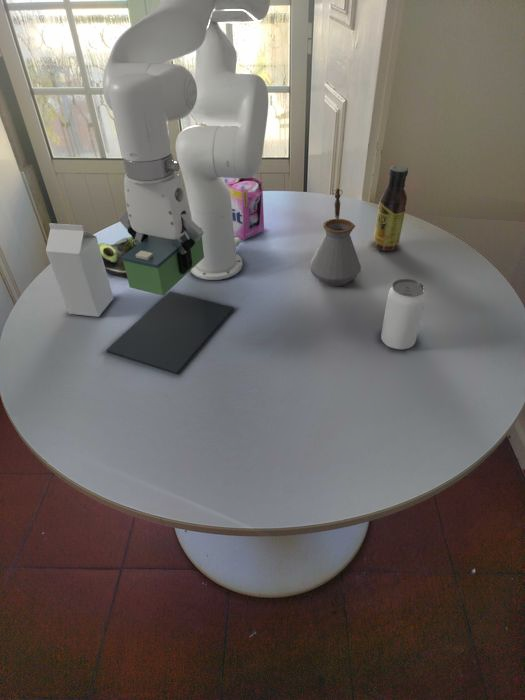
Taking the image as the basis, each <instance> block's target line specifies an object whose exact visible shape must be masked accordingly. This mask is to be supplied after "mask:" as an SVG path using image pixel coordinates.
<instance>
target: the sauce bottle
mask: <svg viewBox="0 0 525 700" xmlns="http://www.w3.org/2000/svg"><path fill="white" fill-rule="evenodd" d="M408 174H409V168H408V167H407V166H405V165H400V164H395V165H392V166H390V168H389V171H388V175H389V176H388V182H387V186H386V188H385V190H384V192H383V193H382V196H381V197H380V199H379V203H378V209H377V215H376V221H375V228H374V235H373V246H374V248H376V249H378V250H379V251H381V252H391V251H395V250H396V249H397V248H398V245H399V243H400V238H401V234H402V228H403V223H404V218H405V213H406V205H407V202H408V201H407V200H408V197H407V193H406V191H405V186H406V185H405V184H406V180H407V176H408Z"/></svg>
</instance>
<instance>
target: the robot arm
mask: <svg viewBox="0 0 525 700" xmlns="http://www.w3.org/2000/svg"><path fill="white" fill-rule="evenodd" d="M270 5H271V0H159V3H158V5H157V7H156V8H155V9H154V10H152V11H150V12H149V13H147V14H146V15H145V16H143V17H142V18H141V19H139V20H138V21H136V22H135V23H134V24H133V25H131V26H130V27H129V28H127V29H126V30H125V31H124V32H123V33H122V34H121V35H119V37H118V38H117V40H116V41H115V43H114V45H113V46H112V49H111V51H110V54H109V56H108V59H107V62H106V65H105V67H104V72H103V75H102V76H103V78H102V93H103V98H104V100H105V103H106V106H107V107H108V108H109V109H110V111H112V116H113V120H114V125H115V130H116V133H117V139H118V143H119V148H120V152H121V157H122V161H123V166H124V172H125V174H124V177H123V188H124V198H125V206H126V212H125V213H124V214H123V215H122V216H121V217H120V218H119V222H120V223H121V224H122V226H123V227H124V228H125V229H126V230H127V233H128V234H129V235H130V237H133V238H134V239H135V240H134V242H135V244H137V245H138V244H139V243H141V242H142V241H143V240H145V239H146V238H147V237H149V235H151V236H156V237H161V238H166V239H172V241H173V242H174V244H175V246H176V247H177V249H178V251H179V253H178V254H177V259H178V265H179V271H180V274H185V273H186V272H187V271H188V270H189V269H190V268H191V267H192V257H191V250H190V249H191V248H192V247H193V246H194V245H195V244H196V243H197V242H198V240H199V239H200V238H201V236H202V243H203V251H204V258H203V259H202V260H201V261H200V262H199V263H198V264H197V265H196V266H195V267H193V268H192V269H191V270H190V272H191V274H192V275H193V276H194V277H197V278H198V279H202V280H206V281H220V280H225V279H228V278H231V277H234V276H235V275H237V274H239V272H241V270H242V268H243V258H242V257H241V256H240V255H239V254H237V253H236V250H237V247H238V246H240V245H241V243H242V239H241V238H239V237H236V236H234V231H233V217H232V202H231V194H230V191H229V189H228V187H227V185H226V183H225V182H224V180H223V179H222V178H221V177H227V178H255V177H256V176H257V175H258V173H259V171H260V169H261V166H262V161H263V155H264V147H265V139H266V130H267V123H268V114H269V90H268V86H267V84H266V81H265V79H263V78H262V77H261V76H260V75H258V74H253V73H244V72H243V73H242V72H237V71H238V70H237V69H238V63H239V62H238V61H239V56H238V51H237V49H236V47H235V46H234V44H233V42H232V41H231V39H230V38H229V36H228V35H227V34H226V33H225V32H224V30H222V28H221V27H220V25H219V24H242V23H243V24H251V23H252V24H253V23H260V22H262V21H263V20H265V18H266V17H267V15H268V12H269V9H270ZM194 52H195V63H194V69H193V70H194V71H193V74H192V72H191V71H190V70H189V69H188V68H186V67H185V66H183V65H180V64H176V63H169V62H173V61H176V60H178V59H181V58H183V57H185V56H186V57H187V56H188V55H190V54H192V53H194ZM190 113H191V115H192V117H193V118H194V119H195V121H196V122H198V123H200V125H192V126H188V127H185V128H184V129H182V130H181V131H180V132H179V133H178V134H177V137H176V140H175V155H176V159H177V161H175V160H174V156H173V149H172V143H171V136H170V130H169V123H171V122H174V121H178V120H181V119H184V118H186V117H188V116H189V114H190ZM201 124H202V125H201ZM179 171H180V172H181V174H180V173H179ZM181 175H182V176H181ZM182 178H183V179H182ZM200 228H202V230H201V229H200ZM185 230H188V231H189V232H190V233H191V237H190V238H189V236H188V235H187V233H186V231H185ZM180 238H182V240H183V242H184V245H183V243H182V242H181V240H180Z"/></svg>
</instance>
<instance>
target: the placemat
mask: <svg viewBox="0 0 525 700" xmlns="http://www.w3.org/2000/svg"><path fill="white" fill-rule="evenodd" d="M233 310H234V306H230V305H225V304H222V303H218V302H214V301H211V300H210V301H209V300H205V299H203V298H198V297H194V296H190V295H186V294H181V293H177V292H174V291H168V292H167V293H166V294H165V295H164V296H163V297H162V298H161V299H160V300H159V301H158V302H157V303H156V304H155V305H153V307H151V308H150V309H149V310H148V311H147V312H146V313H145V314H144V315H143V316H141V317H140V318H139V319H138V320H137V321H136V322H135V323H134V324H133V325H132V326H131V327H129V328H128V330H126V331H125V332H124V333H122V335H121V336H120V337H118V338H117V339H116V340H115V341H114V342H113V343H112V344H111V345H110V346H109V347H108V348H107V349H106V353H108V354H111V355H114V356H119V357H121V358H124V359H128V360H131V361H134V362H137V363H141V364H144V365H146V366H149V367H153V368H156V369H159V370H162V371H166V372H168V373H172V374H174V375H178V374H179V373H181V370H182V369H184V367H185V366H186V365H187V364H188V363H189V361H191V359H192V358H193V357H194V356H195V354H196V353H197V352H198V351H199V350H200V349H201V347H202V346H204V344H205V343H206V342H207V341H208V340H209V338H210V337H211V336H212V335H213V334H214V333H215V331H216V330H217V329H218V328H219V327H220V326H221V324H222V323H223V322H224V321H225V320H226V319H227V317H228V316H229V315H230V314H231V313H232V312H233Z"/></svg>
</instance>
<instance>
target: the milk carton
mask: <svg viewBox="0 0 525 700" xmlns="http://www.w3.org/2000/svg"><path fill="white" fill-rule="evenodd" d="M48 226H49V228H50V229H49V233H48V238H47V243H46V247H45V252H46V256H47V258H48V260H49V263H50V266H51V269H52V272H53V274H54V277H55V280H56V282H57V286H58V288H59V292H60V293H61V296H62V299H63V302H64V305H65V307H66V310H67V314H69V315H77V316H88V317H95V318H98V317H100V316H101V315H102V314H103V312H104V311H105V310H106V309H107V308H108V306H109V305H110V304H111V302H112V301H113V300H114V294H113V289H112V288H111V287H112V286H111V284H110V280H109V276H108V273H107V272H106V269H105V266H104V262H103V258H102V255H101V251H100V248H99V244H100V243H99V240H98V237H97V236H96V235H94V234H92V233H90V232H88V231H86V230H85V229H84V226H83V224H82V225H81V224H67V223H52V222H50V223H48Z"/></svg>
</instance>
